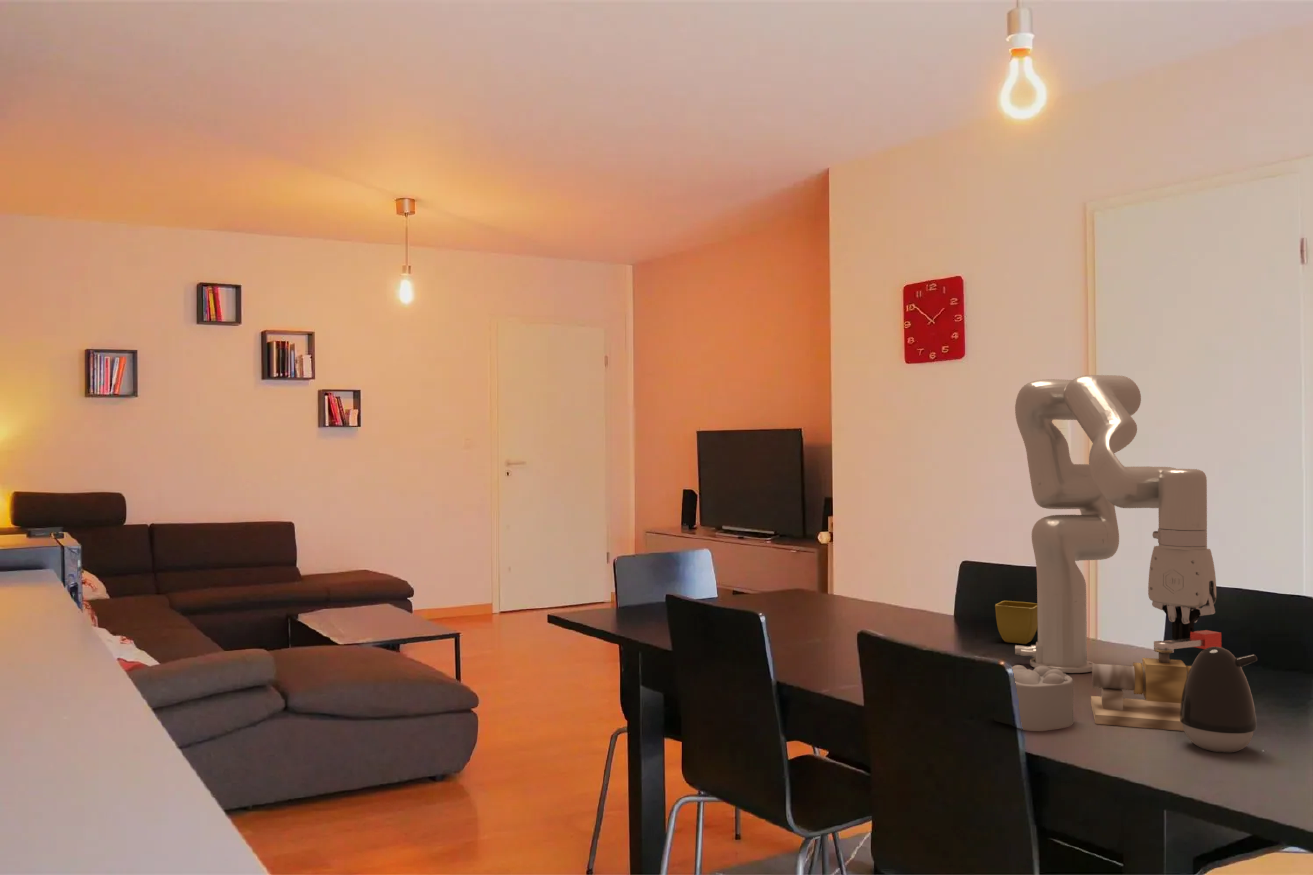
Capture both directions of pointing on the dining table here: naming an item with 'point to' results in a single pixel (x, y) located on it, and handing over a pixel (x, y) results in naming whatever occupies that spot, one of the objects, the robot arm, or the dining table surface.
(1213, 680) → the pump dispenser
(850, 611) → the dining table surface
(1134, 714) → the valve bench
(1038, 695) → the lumpy-topped squat cylinder
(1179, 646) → the valve lever
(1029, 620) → the flower pot
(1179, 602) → the robot arm
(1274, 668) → the dining table surface
